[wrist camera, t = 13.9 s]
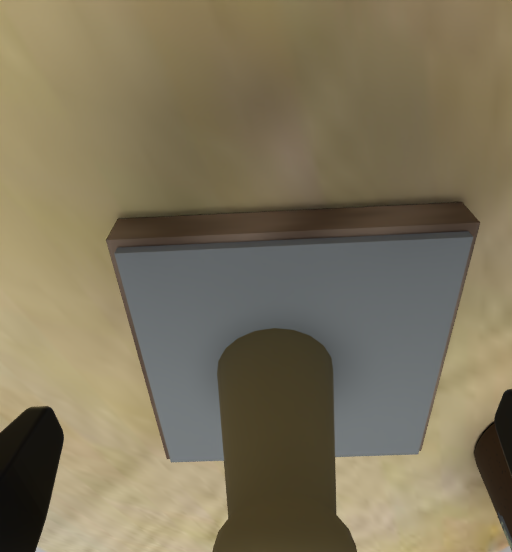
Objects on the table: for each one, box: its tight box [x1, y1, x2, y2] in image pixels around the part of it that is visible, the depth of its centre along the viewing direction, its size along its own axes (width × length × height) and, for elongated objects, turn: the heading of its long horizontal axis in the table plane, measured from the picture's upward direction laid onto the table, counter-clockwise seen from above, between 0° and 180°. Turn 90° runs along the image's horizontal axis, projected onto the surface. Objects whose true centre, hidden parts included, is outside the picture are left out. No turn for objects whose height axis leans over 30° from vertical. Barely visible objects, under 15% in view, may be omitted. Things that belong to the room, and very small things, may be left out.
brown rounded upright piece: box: [213, 328, 357, 552], centre depth 19 cm, size 6×6×11 cm
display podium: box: [106, 202, 480, 462], centre depth 24 cm, size 16×16×2 cm
